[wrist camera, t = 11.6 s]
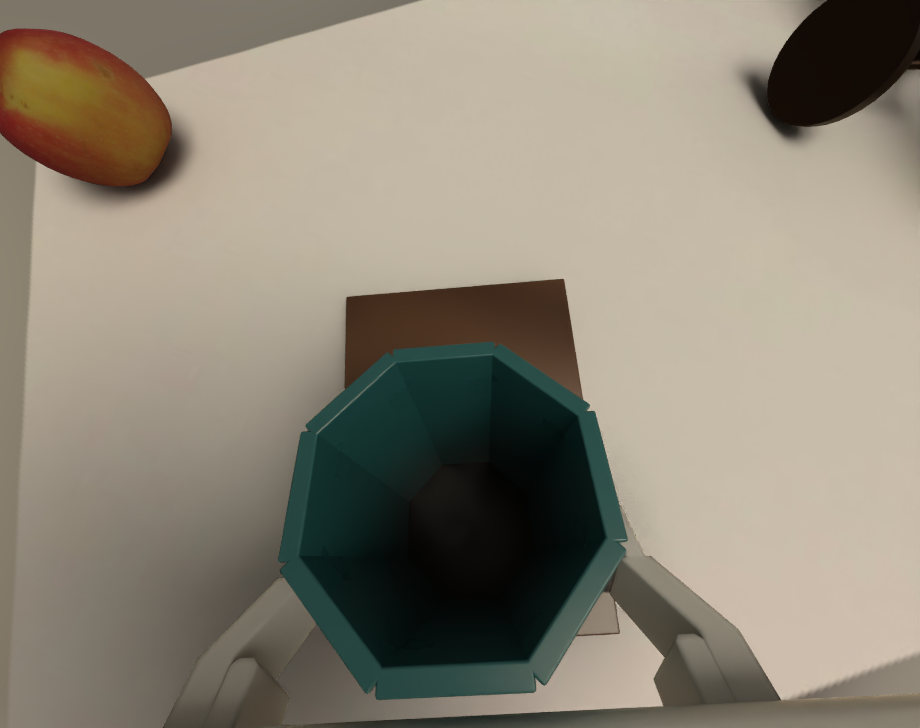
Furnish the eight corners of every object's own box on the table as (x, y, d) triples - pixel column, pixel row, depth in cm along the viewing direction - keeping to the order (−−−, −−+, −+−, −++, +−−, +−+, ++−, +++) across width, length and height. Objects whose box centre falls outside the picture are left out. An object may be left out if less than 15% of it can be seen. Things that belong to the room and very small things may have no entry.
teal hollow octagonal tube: (549, 603, 15) (668, 687, 5) (400, 611, 15) (250, 707, 5) (527, 454, 18) (575, 334, 8) (404, 462, 18) (314, 355, 9)
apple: (113, 125, 26) (-38, -11, 19) (213, 127, 26) (101, -12, 18) (77, 210, 25) (-106, 97, 17) (185, 214, 24) (46, 100, 16)
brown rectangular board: (612, 624, 17) (645, 666, 13) (347, 638, 17) (316, 681, 14) (560, 286, 21) (575, 255, 18) (351, 303, 22) (329, 276, 18)
